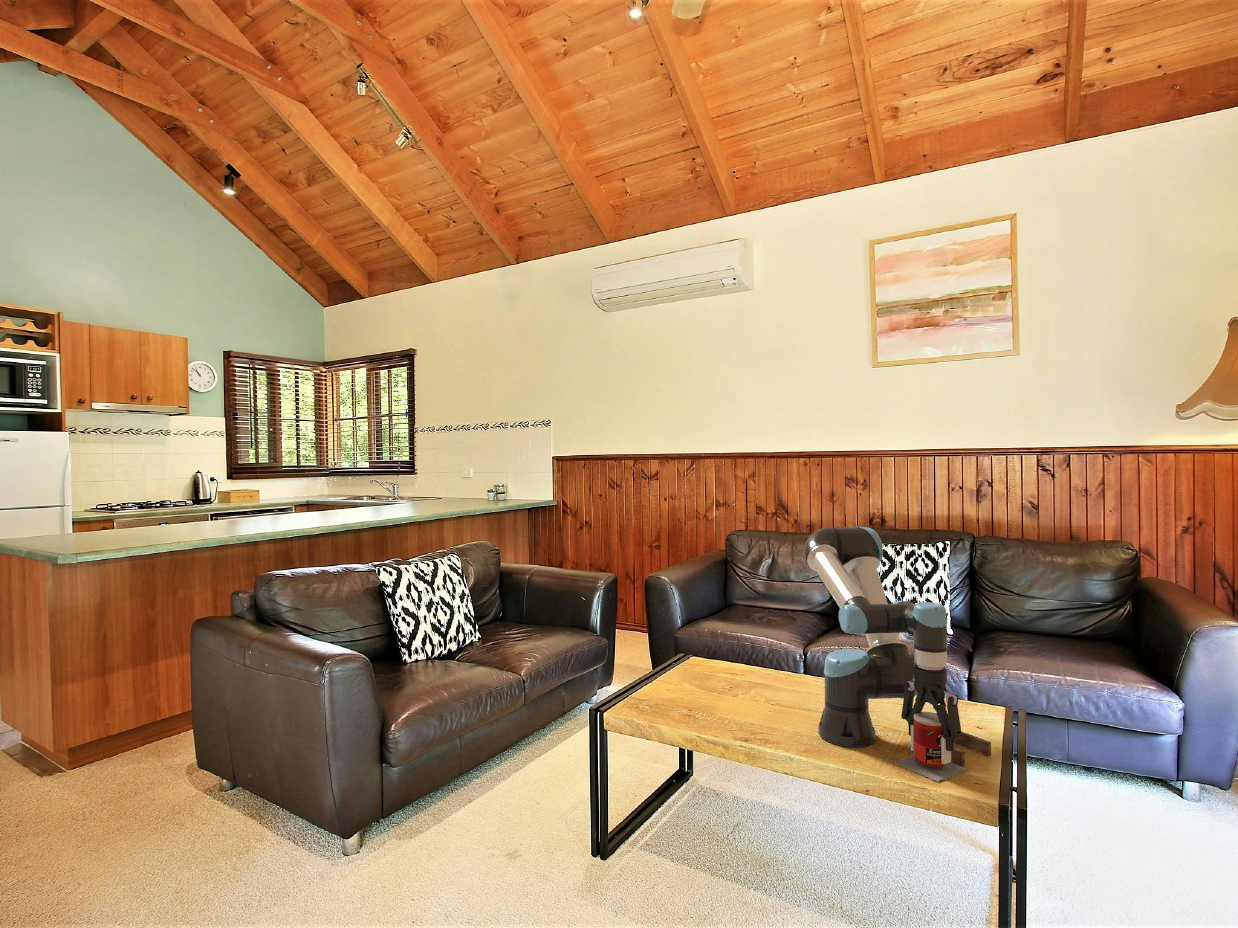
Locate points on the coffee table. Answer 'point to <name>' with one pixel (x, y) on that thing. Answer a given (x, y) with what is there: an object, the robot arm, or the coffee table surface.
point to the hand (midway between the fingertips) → (930, 755)
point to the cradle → (969, 747)
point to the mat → (931, 769)
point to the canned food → (927, 739)
